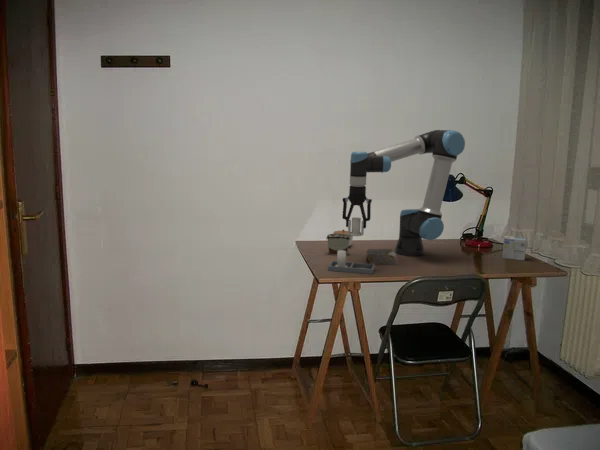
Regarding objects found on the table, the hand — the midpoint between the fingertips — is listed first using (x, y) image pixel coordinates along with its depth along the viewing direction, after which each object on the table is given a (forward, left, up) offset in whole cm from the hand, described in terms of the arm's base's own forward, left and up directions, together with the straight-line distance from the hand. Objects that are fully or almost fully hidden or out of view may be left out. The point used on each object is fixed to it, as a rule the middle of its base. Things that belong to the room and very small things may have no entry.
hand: (355, 234), depth 239 cm
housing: (0, +8, -15) cm, 17 cm away
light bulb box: (-77, -37, -15) cm, 87 cm away
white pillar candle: (0, 0, 0) cm, 0 cm away
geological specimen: (-12, -11, -16) cm, 22 cm away
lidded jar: (+11, -36, -15) cm, 41 cm away
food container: (+11, -20, -15) cm, 28 cm away
